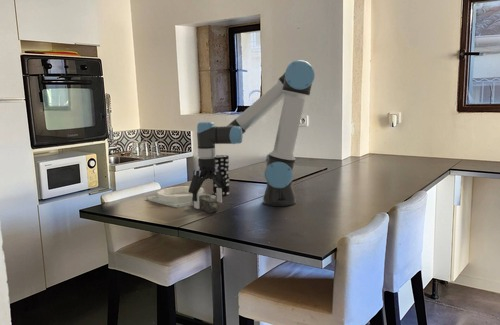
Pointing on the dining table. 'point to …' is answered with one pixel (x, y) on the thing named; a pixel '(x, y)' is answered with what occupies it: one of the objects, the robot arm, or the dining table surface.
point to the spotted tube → (223, 163)
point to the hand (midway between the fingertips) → (208, 205)
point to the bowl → (177, 194)
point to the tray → (155, 199)
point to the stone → (207, 203)
